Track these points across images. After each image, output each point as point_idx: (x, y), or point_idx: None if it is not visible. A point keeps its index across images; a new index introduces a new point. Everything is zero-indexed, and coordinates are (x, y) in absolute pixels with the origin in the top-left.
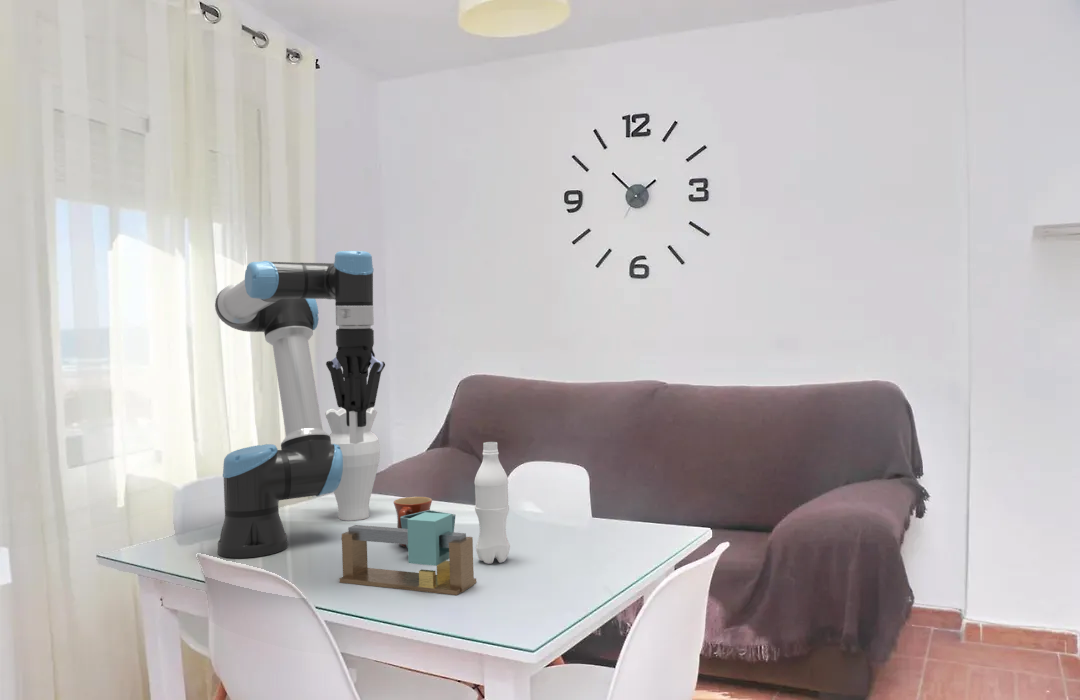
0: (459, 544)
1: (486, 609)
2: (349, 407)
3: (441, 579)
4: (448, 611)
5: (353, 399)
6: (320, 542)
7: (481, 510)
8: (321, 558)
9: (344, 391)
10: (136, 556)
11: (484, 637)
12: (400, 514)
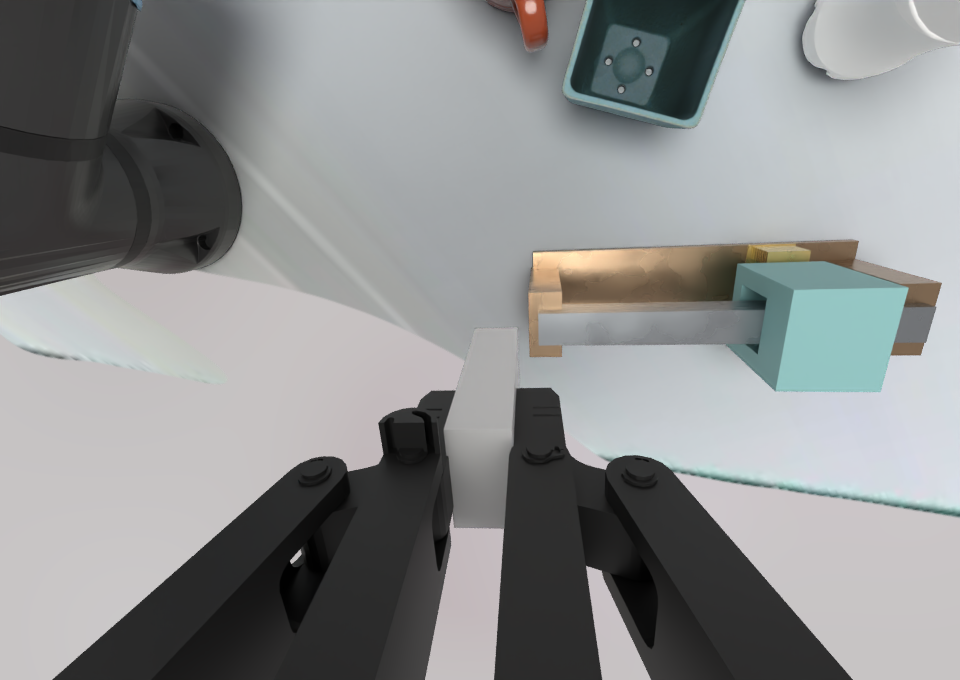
0: (915, 354)
1: (925, 386)
2: (447, 550)
3: None
4: (845, 415)
5: (432, 560)
6: (248, 56)
7: (948, 43)
8: (369, 194)
9: (255, 623)
10: (22, 319)
11: (955, 499)
12: (533, 40)
